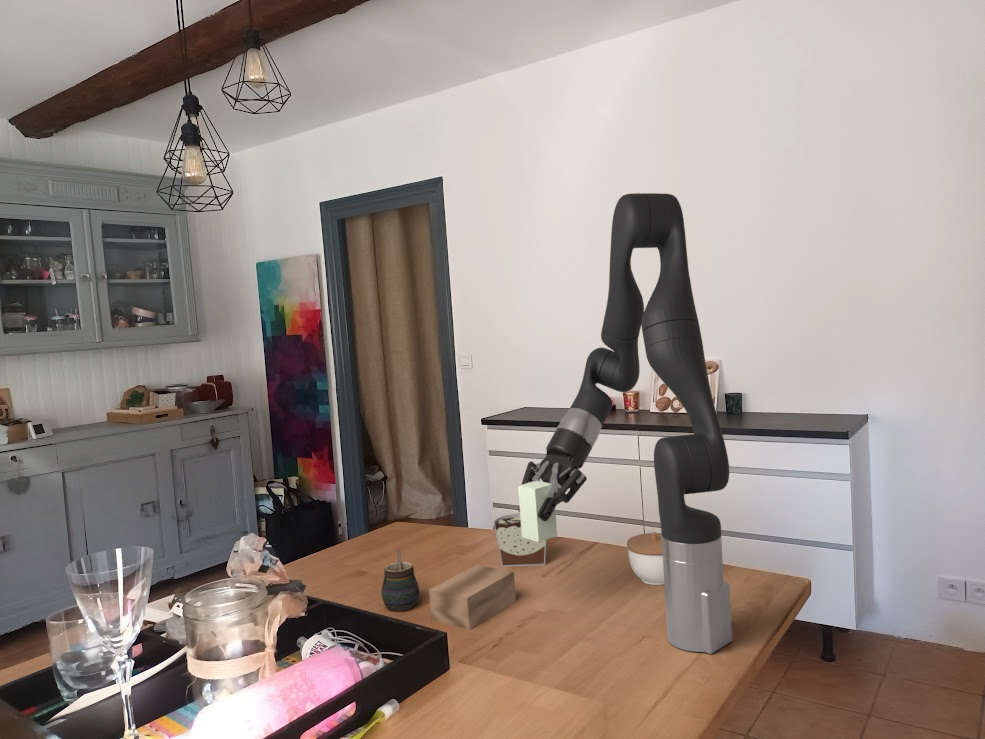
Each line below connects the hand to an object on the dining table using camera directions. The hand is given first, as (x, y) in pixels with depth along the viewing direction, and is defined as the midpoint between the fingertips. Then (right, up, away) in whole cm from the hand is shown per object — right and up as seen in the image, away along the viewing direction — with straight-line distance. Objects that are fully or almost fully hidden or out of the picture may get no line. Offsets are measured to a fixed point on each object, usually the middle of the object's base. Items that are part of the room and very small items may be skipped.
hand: (532, 515), depth 132 cm
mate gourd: (-24, -20, +10) cm, 33 cm away
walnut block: (-10, -19, +5) cm, 22 cm away
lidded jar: (+25, -15, +14) cm, 33 cm away
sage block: (+1, -4, +1) cm, 4 cm away
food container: (0, -16, +30) cm, 34 cm away
